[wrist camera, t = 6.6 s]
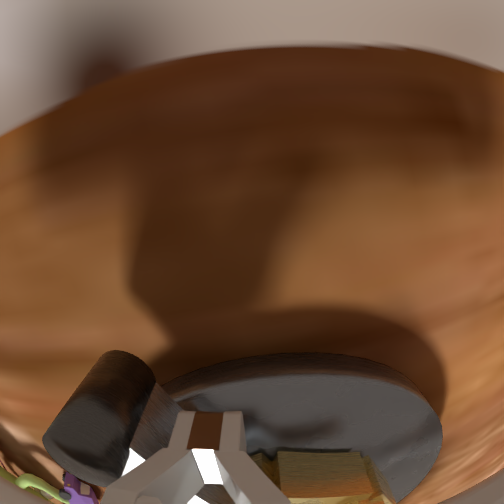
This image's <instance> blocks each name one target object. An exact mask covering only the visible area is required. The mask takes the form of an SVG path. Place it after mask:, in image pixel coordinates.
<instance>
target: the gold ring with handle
mask: <svg viewBox="0 0 504 504" xmlns="http://www.w3.org/2000/svg"><path fill="white" fill-rule="evenodd" d="M180 411H184V410H183V409H182V408H181V407H180V406H179V405H178V404H177V403H176V402H175V401H174V400H173V399H172V398H171V397H170V396H169V395H168V394H167V393H166V392H165V391H164V390H163V389H162V388H161V387H160V385H159V384H158V383H157V382H156V379H155V376H154V374H153V372H152V371H151V369H150V368H149V367H148V366H147V364H146V363H144V362H143V361H142V360H141V359H139V358H138V357H136V356H135V355H133V354H130V353H128V352H124V351H119V350H113V351H108V352H106V353H104V354H103V355H102V356H101V357H100V358H99V360H98V361H97V362H96V364H95V365H94V366H93V368H92V369H91V370H90V372H89V373H88V374H87V376H86V377H85V378H84V380H83V381H82V382H81V384H80V385H79V386H78V388H77V389H76V390H75V392H74V393H73V394H72V396H71V397H70V399H69V400H68V401H67V403H66V404H65V406H64V407H63V408H62V410H61V411H60V413H59V414H58V415H57V417H56V418H55V420H54V421H53V422H52V424H51V425H50V427H49V428H48V430H47V431H46V433H45V434H44V435H43V438H42V441H43V445H44V447H45V449H46V450H47V452H48V453H49V455H50V456H51V457H52V458H53V459H54V460H55V461H56V462H57V463H58V464H59V465H60V466H61V467H63V468H64V469H65V470H67V471H68V472H69V473H71V474H73V475H74V476H76V477H78V478H80V479H81V480H84V481H86V482H88V483H91V484H94V485H97V486H101V487H107V486H108V485H110V484H111V483H113V482H115V481H116V480H118V479H119V478H121V477H122V476H124V475H125V474H127V473H128V472H129V471H131V470H132V469H134V468H135V467H137V466H138V465H140V464H141V463H142V462H144V461H145V460H147V459H148V458H149V457H151V456H152V455H154V454H155V453H156V452H158V451H159V450H160V449H162V448H168V445H169V441H170V438H171V435H172V431H173V428H174V425H175V422H176V418H177V415H178V413H179V412H180ZM250 458H251V459H252V460H253V461H254V462H255V464H256V465H257V466H258V467H259V468H260V469H261V470H262V471H263V473H264V474H265V475H266V476H267V477H268V478H269V479H270V480H271V481H272V482H273V483H274V484H275V486H276V487H277V488H278V489H279V490H280V491H281V492H282V493H283V494H284V495H285V496H286V497H287V498H288V499H289V500H290V502H291V504H396V501H395V499H394V496H393V494H392V491H391V489H390V486H389V483H388V481H387V479H386V478H385V476H384V475H383V474H382V472H381V471H380V470H379V468H378V467H377V466H376V464H375V463H374V462H373V460H372V459H371V458H370V456H369V455H367V456H365V457H363V458H361V455H360V452H350V453H309V452H289V451H277V453H276V455H275V457H274V459H273V461H271V460H270V459H268V458H267V457H266V456H265V455H264V454H262V453H259V454H256V455H253V456H250ZM187 504H236V503H235V502H234V501H233V499H232V498H231V496H230V495H229V493H228V492H227V490H226V489H225V487H224V486H223V484H208V483H204V486H203V487H202V488H201V489H200V490H199V492H198V493H197V494H196V495H195V496H194V497H193V498H192V499H191V500H190V501H189V502H188V503H187Z"/></svg>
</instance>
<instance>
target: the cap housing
mask: <svg viewBox="0 0 504 504" xmlns="http://www.w3.org/2000/svg"><path fill="white" fill-rule="evenodd" d="M161 388H162V389H163V390H164V391H165V392H166V393H167V394H168V395H169V396H170V397H171V398H172V399H173V400H174V401H175V402H176V403H177V404H178V405H179V406H180V407H181V408H182V409H183V410H184V411H207V412H225V411H242V414H243V421H244V428H245V435H246V449H247V454H248V455H249V457H250V456H253V455H256V454H259V453H262V454H264V455H265V456H266V457H267V458H268V459H270V460H271V461H273V459H274V457H275V455H276V453H277V451H289V452H309V453H350V452H360V455H361V458H363V457H365V456H367V455H369V456H370V458H371V459H372V460H373V462H374V463H375V464H376V466H377V467H378V468H379V470H380V471H381V472H382V474H383V475H384V476H385V478H386V479H387V481H388V483H389V486H390V489H391V491H392V494H393V496H394V499H395V501H396V503H398V502H399V501H400V500H402V499H403V498H404V497H406V496H407V495H408V494H409V493H410V492H411V491H412V490H413V489H414V488H415V487H416V486H417V485H418V484H419V483H420V482H421V481H422V480H423V479H424V478H425V476H426V475H427V473H428V472H429V471H430V469H431V468H432V466H433V464H434V463H435V461H436V459H437V457H438V454H439V451H440V449H441V444H442V438H443V435H442V426H441V423H440V420H439V418H438V416H437V414H436V413H435V411H434V410H433V408H432V407H431V406H430V404H429V403H428V401H427V400H426V399H425V397H424V396H423V394H422V393H421V392H420V390H419V389H418V388H417V387H416V385H415V384H414V383H413V382H412V381H411V380H409V379H408V378H407V377H406V376H404V375H403V374H402V373H400V372H398V371H396V370H394V369H392V368H390V367H388V366H386V365H384V364H381V363H377V362H374V361H371V360H368V359H364V358H358V357H353V356H347V355H342V354H327V353H282V354H272V355H262V356H254V357H248V358H243V359H238V360H232V361H226V362H223V363H219V364H216V365H212V366H208V367H205V368H201V369H198V370H196V371H193V372H191V373H188V374H185V375H183V376H180V377H178V378H176V379H174V380H172V381H170V382H168V383H166V384H165V385H163V386H161Z"/></svg>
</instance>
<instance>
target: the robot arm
mask: <svg viewBox="0 0 504 504" xmlns="http://www.w3.org/2000/svg"><path fill="white" fill-rule="evenodd" d="M204 483H208V484H223V486H224V487H225V489H226V490H227V492H228V493H229V495H230V496H231V498H232V499H233V501H234V502H235V503H236V504H291V502H290V500H289V499H288V498H287V497H286V496H285V495H284V494H283V493H282V492H281V491H280V490H279V489H278V488H277V487H276V486H275V484H274V483H273V482H272V481H271V480H270V479H269V478H268V477H267V476H266V475H265V474H264V473H263V471H262V470H261V469H260V468H259V467H258V466H257V465H256V464H255V462H254V461H253V460H252V459H251V458H250V457H249V455H248V454H247V449H246V435H245V428H244V421H243V414H242V411H225V412H207V411H180V412H179V413H178V415H177V418H176V422H175V425H174V428H173V431H172V435H171V438H170V441H169V445H168V448H162V449H160V450H159V451H158V452H156V453H155V454H154V455H152V456H151V457H149V458H148V459H147V460H145V461H144V462H142V463H141V464H140V465H138V466H137V467H135V468H134V469H132V470H131V471H129V472H128V473H127V474H125V475H124V476H122V477H121V478H119V479H118V480H116V481H115V482H113V483H111V484H110V485H108V486H107V488H106V490H105V493H104V495H103V498H102V500H101V502H100V504H187V503H188V502H189V501H190V500H191V499H192V498H193V497H194V496H195V495H196V494H197V493H198V492H199V490H200V489H201V488H202V487H203V486H204ZM0 504H53V503H51V502H49V501H46V500H44V499H42V498H40V497H38V496H36V495H34V494H32V493H30V492H28V491H26V490H24V489H22V488H20V487H19V486H17V485H15V484H13V483H12V482H10V481H8V480H6V479H5V478H3V477H1V476H0ZM438 504H504V468H503V469H501V470H500V471H498V472H497V473H495V474H493V475H492V476H490V477H488V478H487V479H485V480H483V481H482V482H480V483H478V484H476V485H474V486H473V487H471V488H469V489H467V490H465V491H463V492H461V493H459V494H457V495H455V496H453V497H451V498H449V499H447V500H445V501H442V502H440V503H438Z"/></svg>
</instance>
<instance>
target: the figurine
mask: <svg viewBox="0 0 504 504" xmlns="http://www.w3.org/2000/svg"><path fill="white" fill-rule="evenodd" d="M0 462H1V460H0ZM1 464H2V465H3V463H2V462H1ZM3 467H4V465H3ZM0 476H1V477H3V478H5V479H6V480H8V481H10V482H12V483H13V484H15V485H17V486H19V487H20V488H22V489H24V490H26V491H28V492H30V493H32V494H34V495H36V496H38V497H40V498H42V499H44V500H46V501H49V502H51V501H50V500H48V499H53V498H56V499H58V500H60V501H62V502H63V503H65V504H99V503H98V500H97V498H96V495H95V493H94V491H93V489H92V487H90V486H89V485H87V484H85V483H83V482H80V481H79V480H78V479H77V478H76V477H75V476H74V475H72V474H71V473H68V472H66V473H64V474H63V481H64V489H60V490H58V489H56V488H54V487H53V486H51V485H50V484H48V483H47V482H45V481H44V480H43V479H41V478H39V477H36V476H35V475H33V474H32V473H31V474H28V473H25V474H22V475H21V476H19V477H18V478H17V477H16V476H14V475H13V474H11V473H10V472H8V471H7V470H6V468H5V467H4V468H2V467H1V466H0ZM29 486H31V487H33V488H34V490H33V489H32V488H31V487H29ZM35 487H36V488H35ZM51 503H52V502H51ZM53 504H54V503H53Z"/></svg>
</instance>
